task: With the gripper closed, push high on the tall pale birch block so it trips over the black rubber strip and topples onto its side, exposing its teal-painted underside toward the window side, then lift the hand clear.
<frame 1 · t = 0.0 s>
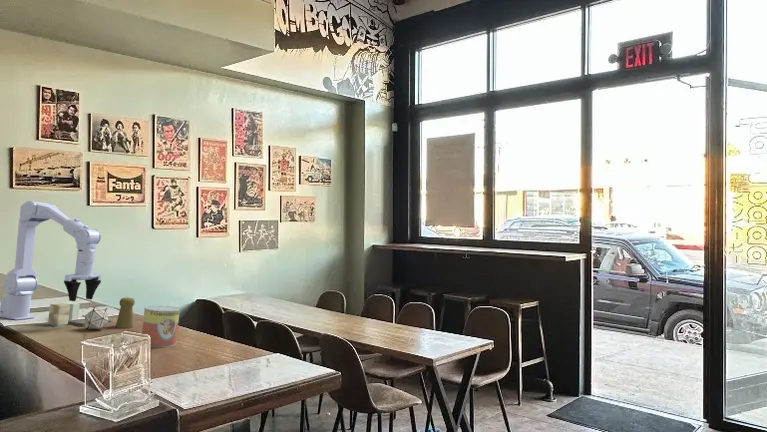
hand: (80, 300, 202), 10 cm above the table, tool pointing down, fingers open, 7 cm apart
birch block: (57, 324, 204), on the table
sage block: (69, 318, 218), on the table
rubber trip strip: (66, 323, 208), on the table
cork: (124, 327, 212), on the table
canned food: (158, 344, 190), on the table
game die: (95, 330, 202), on the table
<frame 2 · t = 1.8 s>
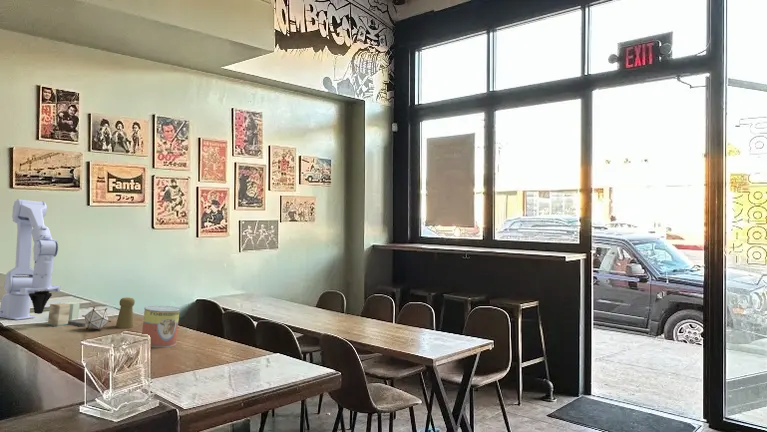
hand: (38, 313, 196), 5 cm above the table, tool pointing down, fingers closed
nothing on the table moved.
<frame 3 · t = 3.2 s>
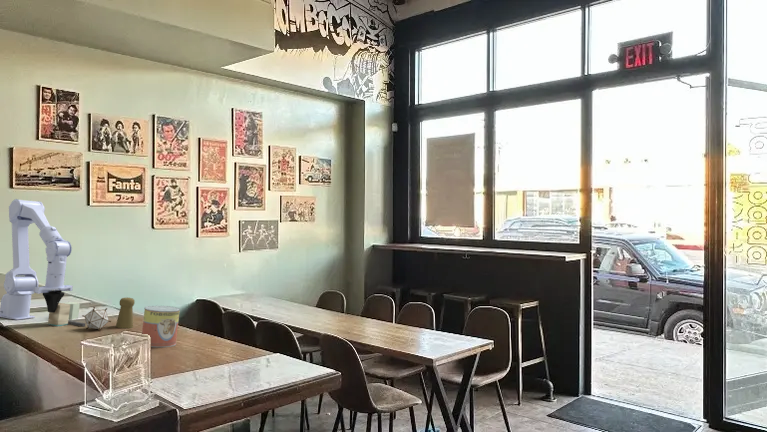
hand: (51, 312, 201), 5 cm above the table, tool pointing down, fingers closed
birch block: (57, 324, 204), on the table, touching gripper
everything else where it was.
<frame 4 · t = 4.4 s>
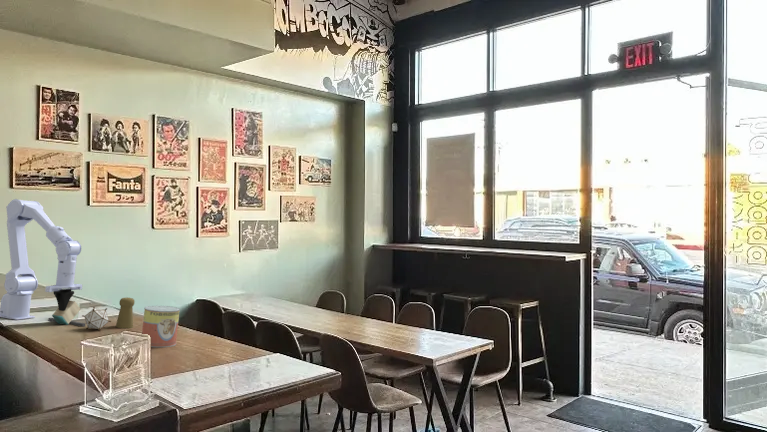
hand: (62, 310, 205), 5 cm above the table, tool pointing down, fingers closed, pressing on birch block
birch block: (59, 320, 205), point 2 cm above the table, tilted 45°, touching gripper, rubber trip strip
everything else where it was.
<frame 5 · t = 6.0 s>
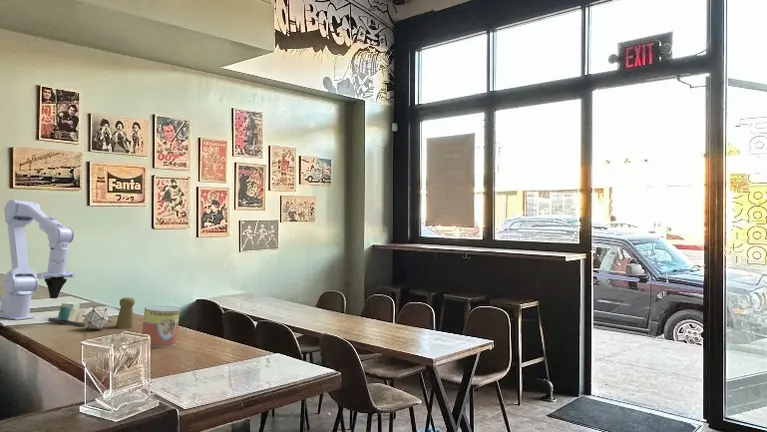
hand: (53, 298, 202), 10 cm above the table, tool pointing down, fingers closed
birch block: (64, 313, 207), point 4 cm above the table, tilted 102°, touching rubber trip strip
everything else where it was.
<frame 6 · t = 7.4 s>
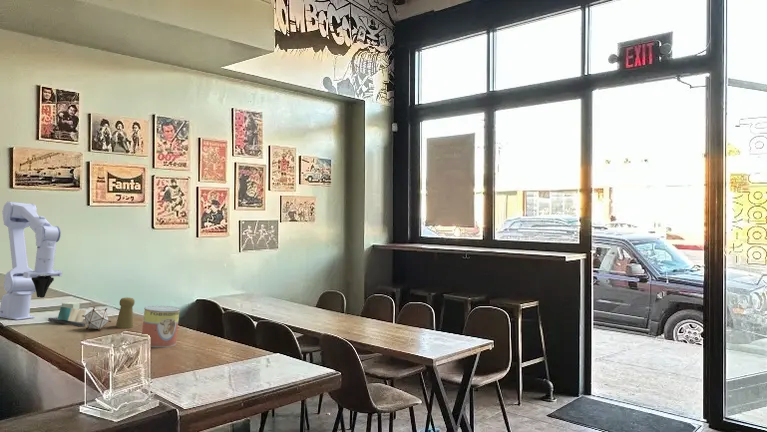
hand: (40, 297, 201), 10 cm above the table, tool pointing down, fingers closed
nothing on the table moved.
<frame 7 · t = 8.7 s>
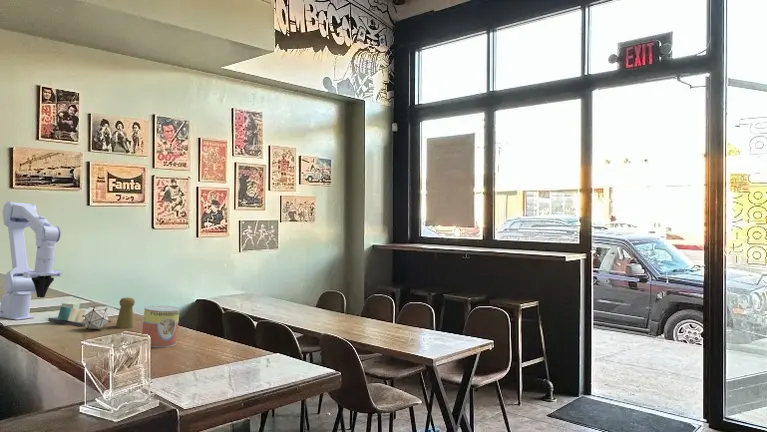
hand: (40, 297, 201), 10 cm above the table, tool pointing down, fingers closed
nothing on the table moved.
at the end: birch block tilted 102°; birch block inside the target area (5.5 cm from its centre), point 3.8 cm above the table; sage block moved 0.1 cm from its start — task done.
